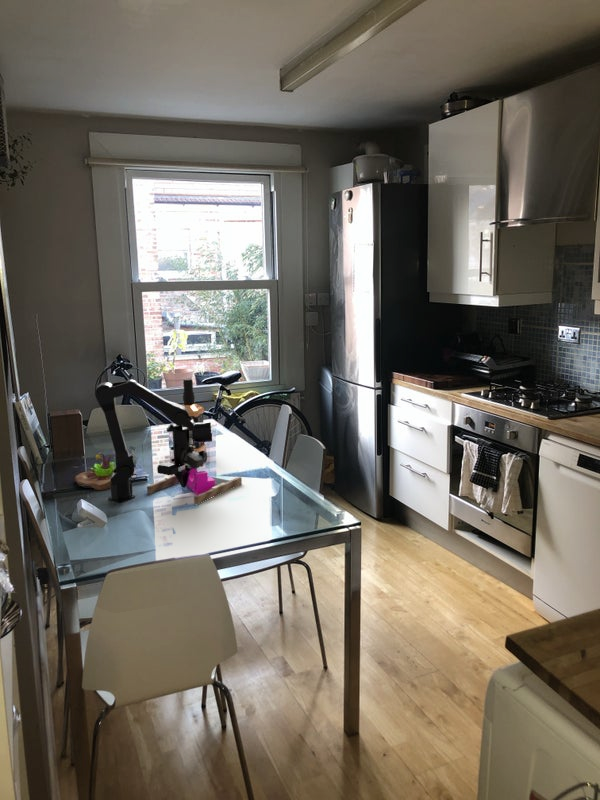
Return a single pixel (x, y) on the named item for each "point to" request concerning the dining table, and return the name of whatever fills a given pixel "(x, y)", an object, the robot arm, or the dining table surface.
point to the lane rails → (200, 497)
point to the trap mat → (219, 481)
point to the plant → (98, 474)
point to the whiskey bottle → (193, 412)
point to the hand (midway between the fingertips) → (183, 487)
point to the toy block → (200, 481)
